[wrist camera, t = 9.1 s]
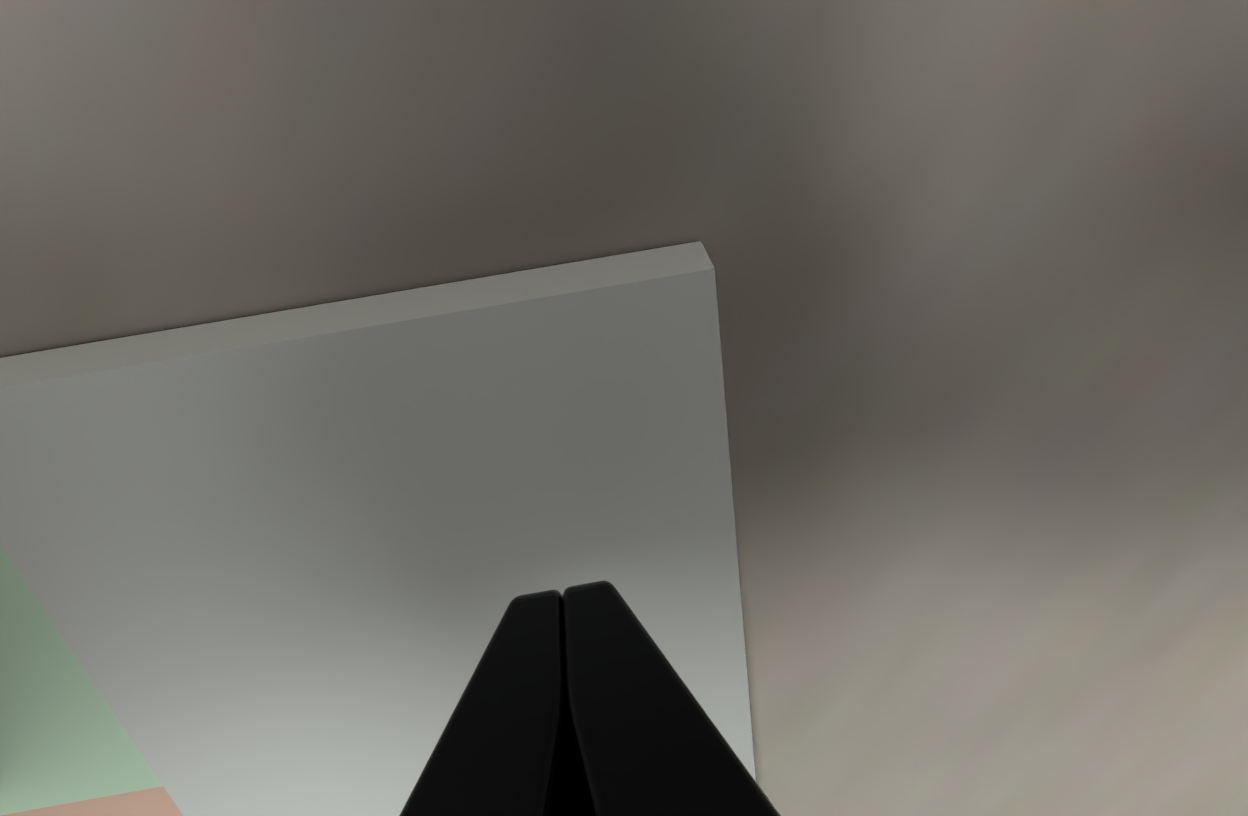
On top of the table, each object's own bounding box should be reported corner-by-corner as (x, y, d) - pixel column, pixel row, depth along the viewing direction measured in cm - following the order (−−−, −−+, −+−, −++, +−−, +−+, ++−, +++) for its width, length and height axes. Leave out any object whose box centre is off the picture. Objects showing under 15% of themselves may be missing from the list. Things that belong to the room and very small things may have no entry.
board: (701, 241, 8) (715, 268, 7) (753, 836, 13) (763, 878, 12) (-845, 498, 7) (-945, 546, 7) (-179, 1009, 12) (-207, 1058, 12)
